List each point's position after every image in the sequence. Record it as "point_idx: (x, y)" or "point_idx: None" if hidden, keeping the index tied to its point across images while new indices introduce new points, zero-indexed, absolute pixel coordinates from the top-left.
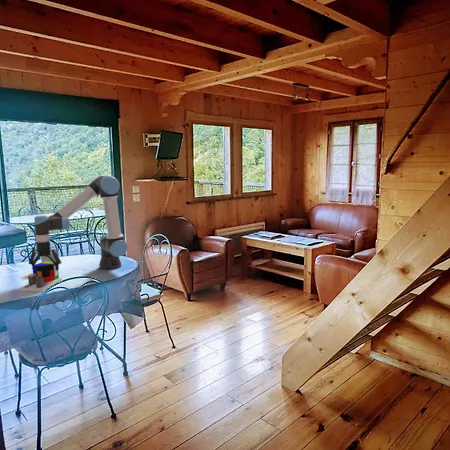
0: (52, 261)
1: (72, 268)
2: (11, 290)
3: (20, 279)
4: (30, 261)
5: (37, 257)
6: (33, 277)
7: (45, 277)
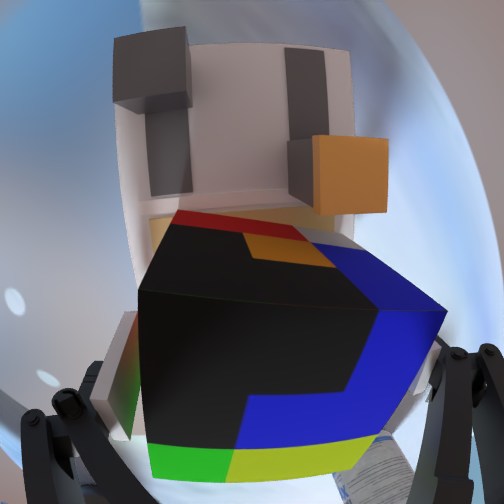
0: (113, 460)
1: (271, 489)
2: (408, 84)
3: (454, 315)
4: (494, 369)
5: (446, 465)
6: (309, 150)
7: (184, 224)
